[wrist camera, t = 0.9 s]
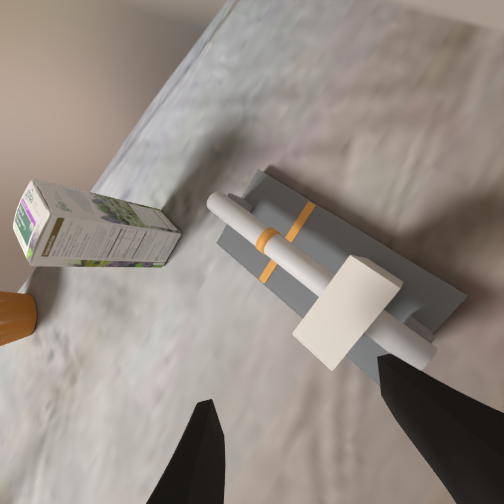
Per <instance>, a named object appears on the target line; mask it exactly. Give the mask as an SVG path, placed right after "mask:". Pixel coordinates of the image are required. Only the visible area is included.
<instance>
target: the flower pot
mask: <svg viewBox="0 0 504 504" xmlns="http://www.w3.org/2000/svg"><path fill="white" fill-rule="evenodd" d="M36 321H37V308H36V303H35V300H34V298H33V297H32V296H31V295H29V294H21V293H11V292H1V291H0V346H2V345H5V344H7V343H10V342H13V341H16V340H19V339H22V338H24V337H27V336H29V335H31V334H32V333H33V331H34V329H35V324H36Z"/></svg>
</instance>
